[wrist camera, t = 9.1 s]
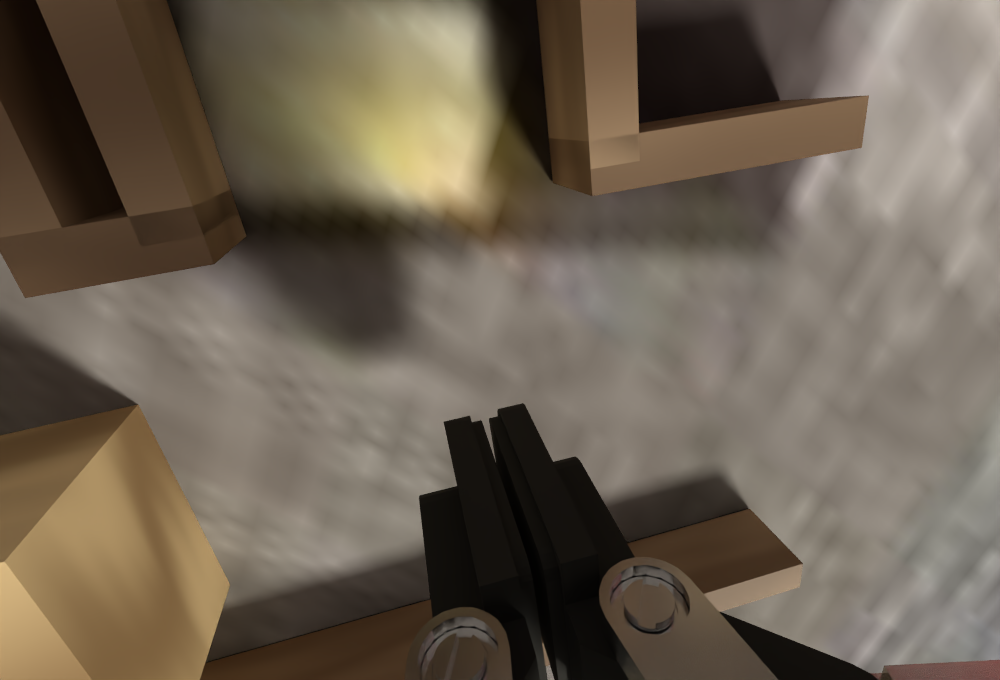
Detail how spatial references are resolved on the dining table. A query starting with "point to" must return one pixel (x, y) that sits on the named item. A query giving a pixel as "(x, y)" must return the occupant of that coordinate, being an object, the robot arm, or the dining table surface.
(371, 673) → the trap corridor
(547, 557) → the robot arm
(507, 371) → the dining table surface
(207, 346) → the dining table surface
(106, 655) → the oak block
